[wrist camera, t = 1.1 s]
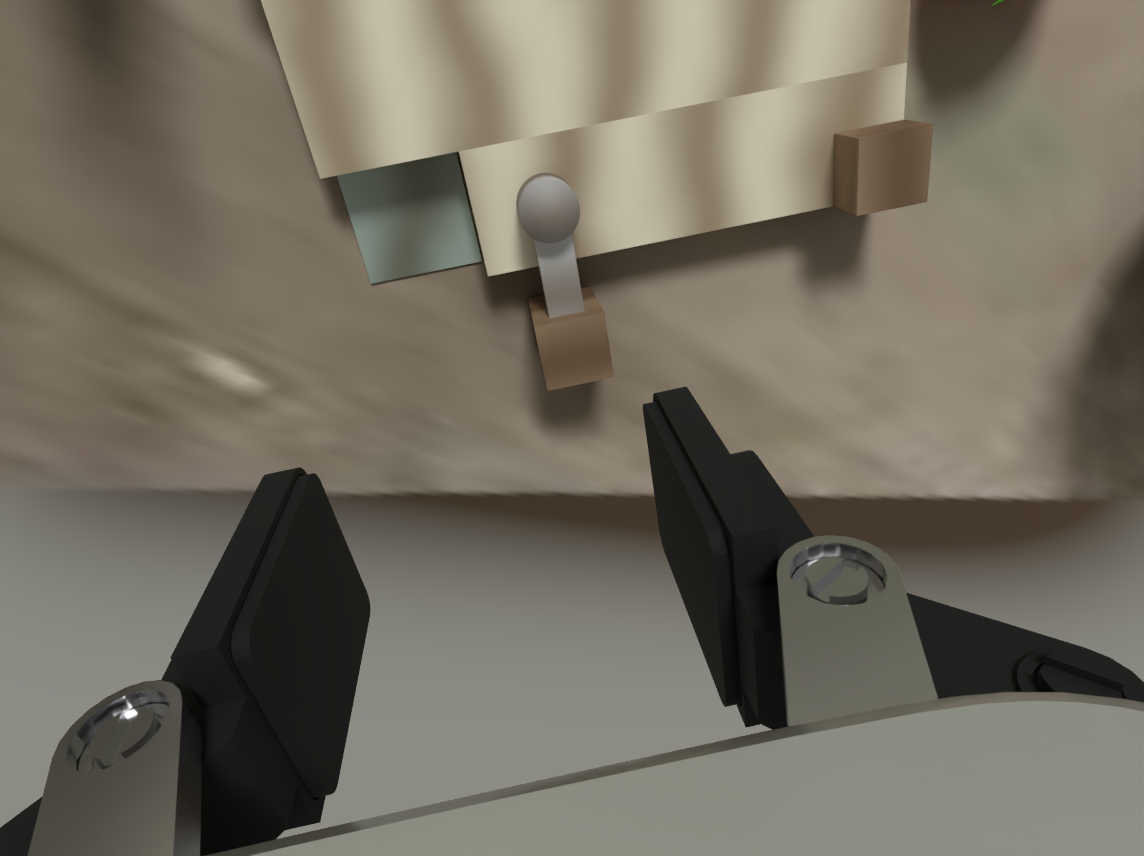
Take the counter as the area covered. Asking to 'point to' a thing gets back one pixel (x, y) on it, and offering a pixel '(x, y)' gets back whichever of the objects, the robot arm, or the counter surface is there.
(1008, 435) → the counter surface
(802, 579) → the robot arm
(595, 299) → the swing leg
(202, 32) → the counter surface
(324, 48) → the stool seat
